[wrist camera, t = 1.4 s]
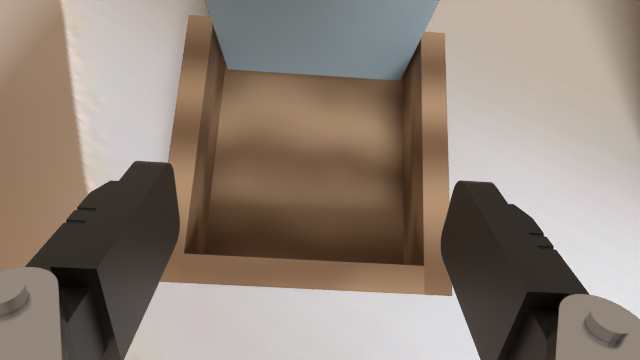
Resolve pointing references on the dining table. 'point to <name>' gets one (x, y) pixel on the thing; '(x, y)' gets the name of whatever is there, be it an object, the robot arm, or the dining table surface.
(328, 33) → the flat rectangular panel
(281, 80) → the open wooden box
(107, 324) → the robot arm
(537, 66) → the dining table surface
